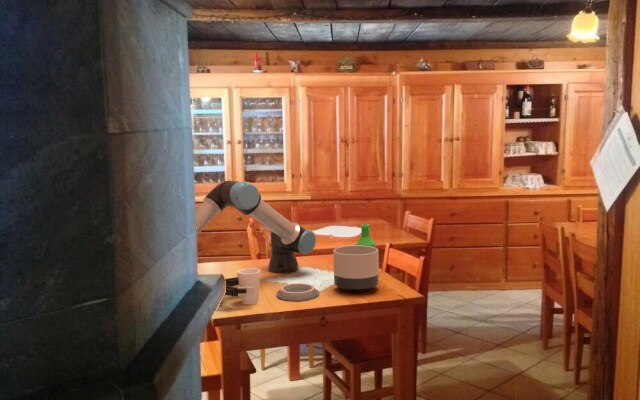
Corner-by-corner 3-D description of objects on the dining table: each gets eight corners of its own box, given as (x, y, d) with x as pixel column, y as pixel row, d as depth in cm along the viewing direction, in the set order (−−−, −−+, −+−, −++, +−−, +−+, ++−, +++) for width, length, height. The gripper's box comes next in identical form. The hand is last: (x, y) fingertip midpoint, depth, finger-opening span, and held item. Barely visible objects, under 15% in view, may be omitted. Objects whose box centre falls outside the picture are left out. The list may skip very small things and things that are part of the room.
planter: (384, 294, 226) (384, 252, 224) (340, 298, 222) (339, 256, 220) (371, 282, 245) (370, 244, 243) (329, 285, 241) (328, 246, 239)
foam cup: (266, 301, 220) (265, 270, 218) (248, 307, 213) (247, 275, 212) (251, 297, 226) (250, 267, 225) (233, 302, 220) (232, 271, 218)
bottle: (374, 278, 251) (373, 225, 248) (355, 278, 252) (354, 225, 249) (376, 273, 259) (375, 222, 256) (358, 273, 261) (357, 222, 258)
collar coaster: (268, 294, 229) (267, 288, 229) (301, 286, 241) (301, 279, 240) (293, 304, 215) (293, 297, 215) (327, 294, 227) (327, 288, 227)
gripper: (211, 287, 232) (260, 285, 232) (198, 305, 207) (253, 303, 207) (210, 270, 231) (259, 268, 231) (197, 286, 206) (252, 285, 206)
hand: (257, 285), depth 219 cm, fingers open, 13 cm apart
